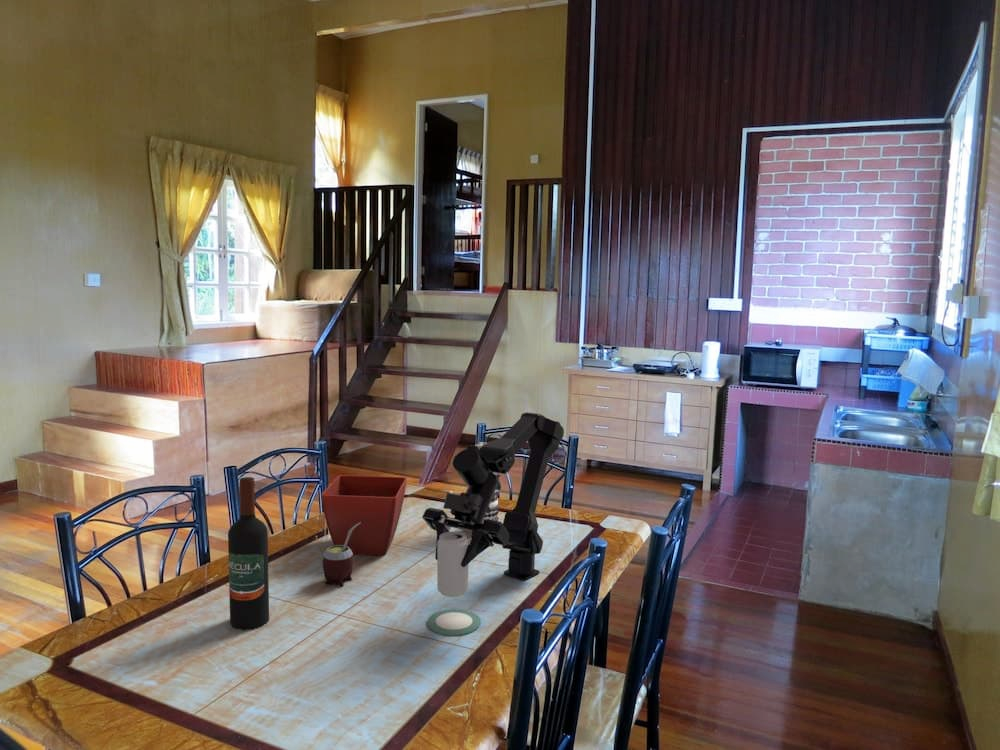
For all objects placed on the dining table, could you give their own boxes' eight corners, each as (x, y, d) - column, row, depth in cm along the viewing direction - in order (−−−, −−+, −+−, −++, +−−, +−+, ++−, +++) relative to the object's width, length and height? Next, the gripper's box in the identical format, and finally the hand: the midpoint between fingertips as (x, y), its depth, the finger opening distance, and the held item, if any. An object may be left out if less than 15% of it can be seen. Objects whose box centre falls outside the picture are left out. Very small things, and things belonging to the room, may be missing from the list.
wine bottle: (276, 616, 149) (274, 476, 146) (253, 632, 142) (250, 485, 139) (246, 610, 152) (243, 472, 148) (221, 626, 145) (218, 481, 141)
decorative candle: (462, 525, 209) (463, 441, 206) (491, 522, 213) (493, 439, 210) (474, 535, 201) (476, 448, 198) (504, 531, 205) (506, 446, 202)
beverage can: (471, 596, 146) (472, 539, 144) (440, 600, 144) (441, 542, 142) (463, 583, 152) (464, 529, 150) (434, 587, 150) (434, 531, 148)
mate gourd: (319, 578, 169) (319, 517, 167) (352, 573, 173) (352, 513, 171) (327, 590, 163) (327, 526, 161) (361, 584, 166) (361, 522, 164)
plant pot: (395, 561, 181) (396, 496, 179) (320, 559, 181) (319, 494, 179) (407, 535, 200) (407, 476, 198) (338, 533, 200) (338, 475, 198)
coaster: (452, 606, 156) (452, 604, 156) (491, 621, 149) (491, 619, 149) (416, 624, 147) (416, 621, 147) (456, 641, 141) (456, 638, 141)
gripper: (427, 470, 153) (395, 536, 145) (503, 483, 144) (474, 554, 136) (447, 497, 161) (418, 560, 153) (521, 511, 152) (494, 579, 143)
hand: (449, 563), depth 146 cm, fingers closed on beverage can, 6 cm apart
